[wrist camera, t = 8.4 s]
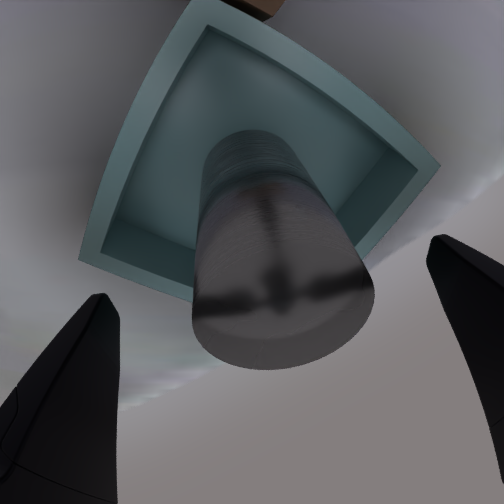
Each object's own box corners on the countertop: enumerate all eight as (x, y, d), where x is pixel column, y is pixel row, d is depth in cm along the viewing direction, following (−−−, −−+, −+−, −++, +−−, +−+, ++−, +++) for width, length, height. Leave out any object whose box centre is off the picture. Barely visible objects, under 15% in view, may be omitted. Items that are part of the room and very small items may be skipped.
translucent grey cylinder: (233, 111, 11) (257, 209, 5) (318, 160, 12) (407, 286, 6) (185, 195, 13) (164, 347, 7) (266, 231, 14) (301, 379, 8)
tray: (202, 5, 9) (197, -10, 6) (400, 137, 13) (440, 165, 10) (99, 216, 14) (77, 259, 11) (279, 287, 18) (290, 333, 15)
